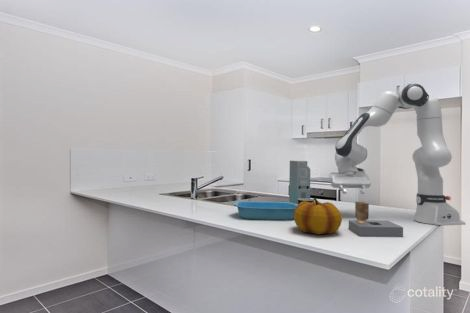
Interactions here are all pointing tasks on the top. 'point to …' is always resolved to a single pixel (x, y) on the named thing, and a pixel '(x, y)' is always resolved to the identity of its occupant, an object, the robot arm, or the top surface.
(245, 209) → the casserole dish
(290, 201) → the device
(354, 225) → the socket block
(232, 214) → the top surface
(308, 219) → the decorative pumpkin
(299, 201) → the coffee mug
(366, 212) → the walnut plug
